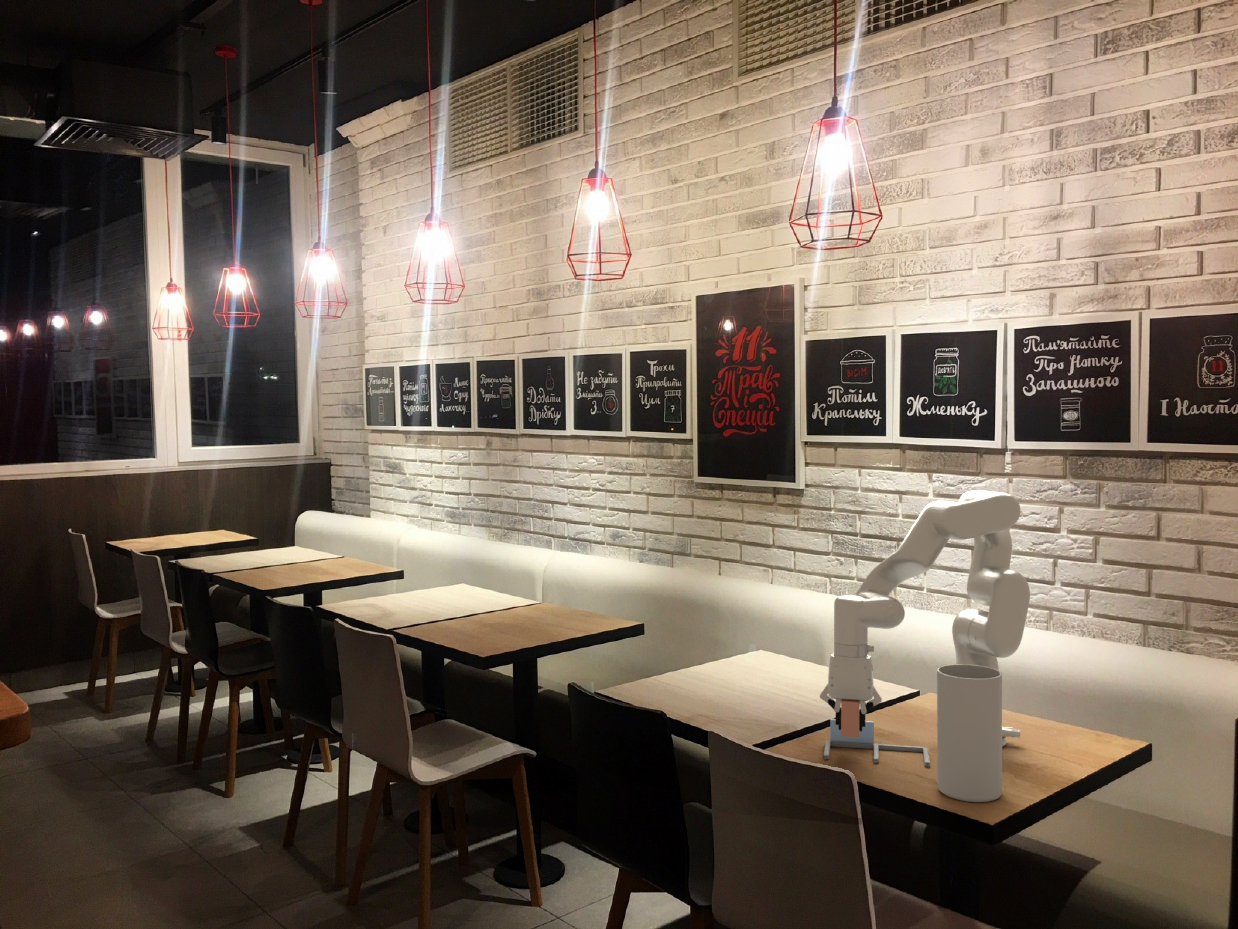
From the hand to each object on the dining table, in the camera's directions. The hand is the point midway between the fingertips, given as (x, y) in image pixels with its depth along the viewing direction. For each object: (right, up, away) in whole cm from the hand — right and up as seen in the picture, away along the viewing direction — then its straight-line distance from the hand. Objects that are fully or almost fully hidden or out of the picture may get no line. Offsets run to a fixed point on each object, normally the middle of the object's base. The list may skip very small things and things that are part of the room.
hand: (850, 728), depth 223 cm
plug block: (0, -1, 0) cm, 1 cm away
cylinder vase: (+19, -7, -24) cm, 31 cm away
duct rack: (+6, -6, -1) cm, 8 cm away
